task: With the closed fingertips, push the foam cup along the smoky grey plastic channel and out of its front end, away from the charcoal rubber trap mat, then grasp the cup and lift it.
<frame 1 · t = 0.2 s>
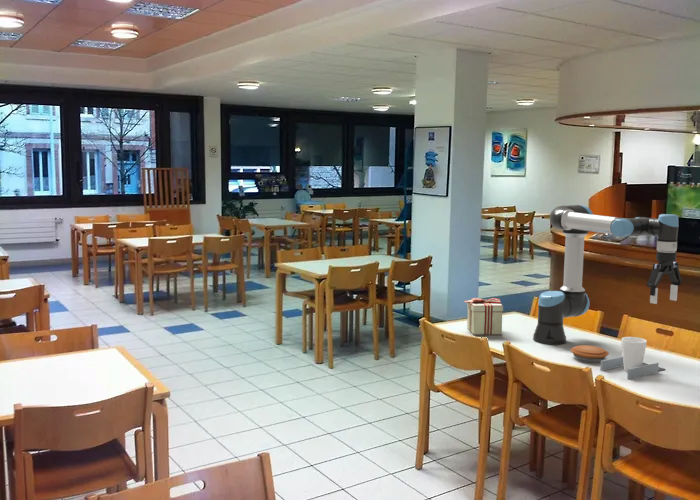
hand: (663, 301, 273), 27 cm above the table, tool pointing down, fingers open, 13 cm apart
foam cup: (632, 371, 267), on the table
pie: (588, 359, 283), on the table
channel: (628, 371, 266), on the table
gift box: (481, 331, 331), on the table
trap mat: (647, 367, 272), on the table
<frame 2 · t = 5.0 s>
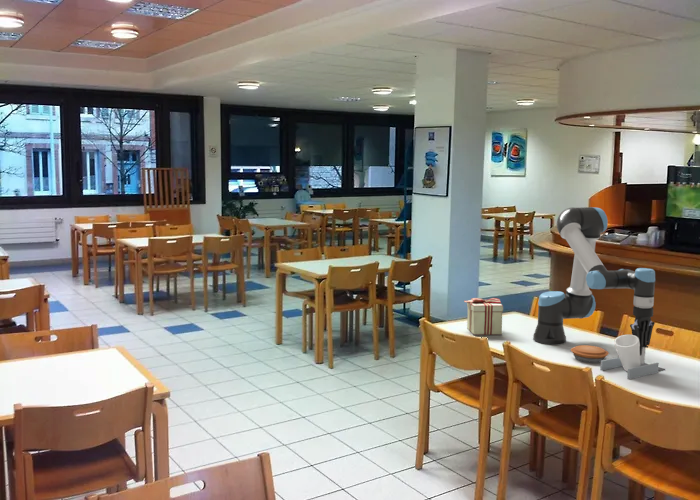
hand: (640, 362, 268), 3 cm above the table, tool pointing down, fingers closed
foam cup: (632, 368, 266), point 1 cm above the table, touching gripper, hand
everything else where it was.
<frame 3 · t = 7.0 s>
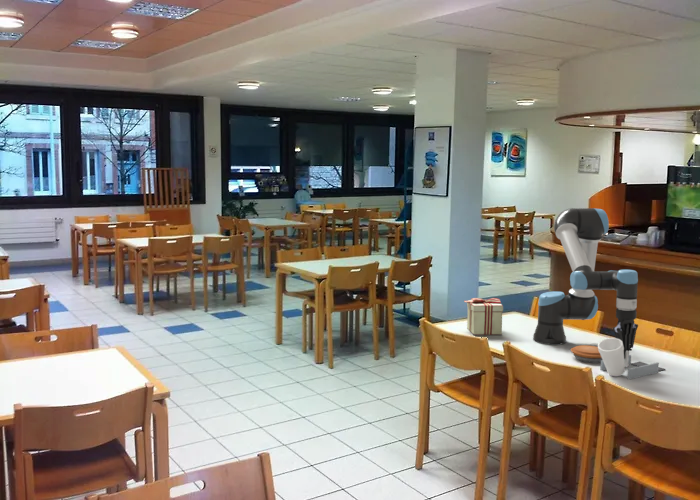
hand: (624, 366, 263), 3 cm above the table, tool pointing down, fingers closed
foam cup: (616, 371, 261), point 1 cm above the table, touching gripper, hand
everything else where it was.
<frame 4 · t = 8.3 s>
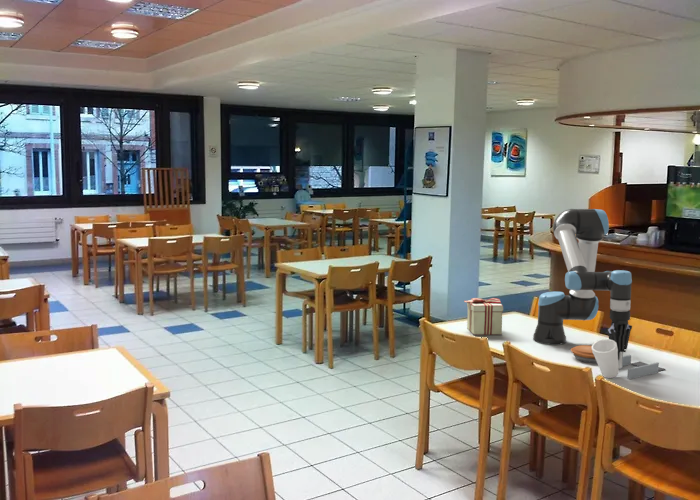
hand: (618, 367, 261), 3 cm above the table, tool pointing down, fingers closed
foam cup: (610, 373, 259), point 1 cm above the table, touching gripper, hand
everything else where it was.
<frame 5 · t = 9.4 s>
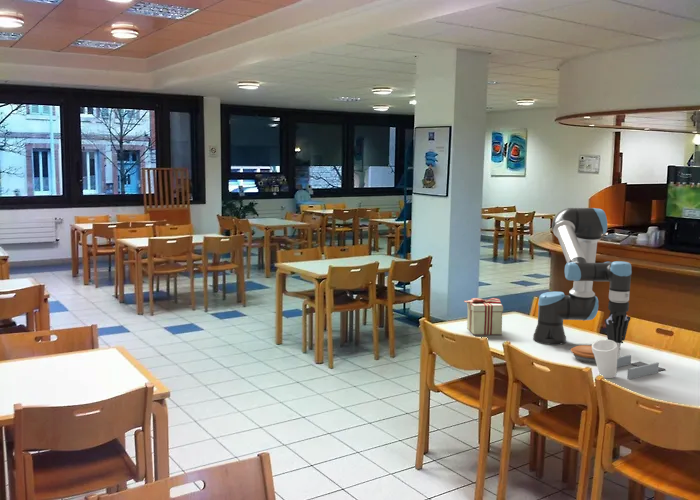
hand: (615, 358, 261), 7 cm above the table, tool pointing down, fingers closed
foam cup: (607, 374, 259), point 1 cm above the table
everything else where it was.
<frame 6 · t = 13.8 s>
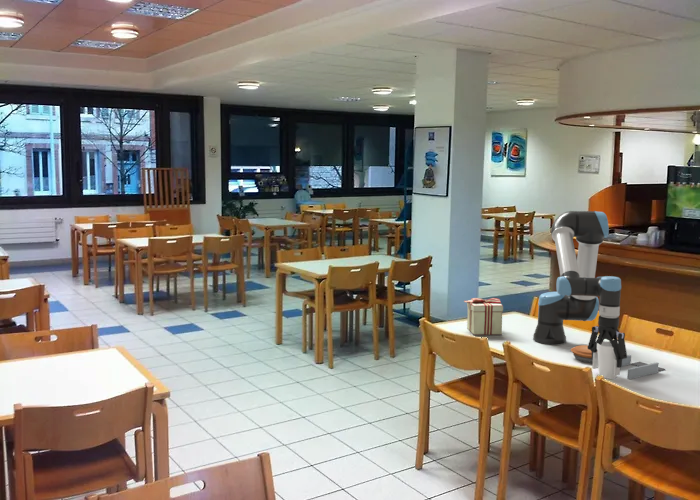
hand: (605, 371, 258), 2 cm above the table, tool pointing down, fingers closed on foam cup, 9 cm apart
foam cup: (607, 376, 259), on the table, touching gripper
everything else where it was.
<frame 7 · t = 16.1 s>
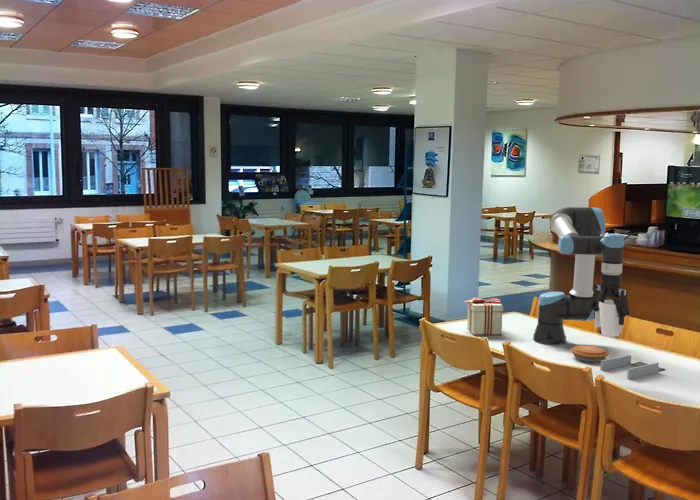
hand: (607, 329, 256), 19 cm above the table, tool pointing down, fingers closed on foam cup, 9 cm apart
foam cup: (609, 335, 257), point 17 cm above the table, touching gripper
everything else where it was.
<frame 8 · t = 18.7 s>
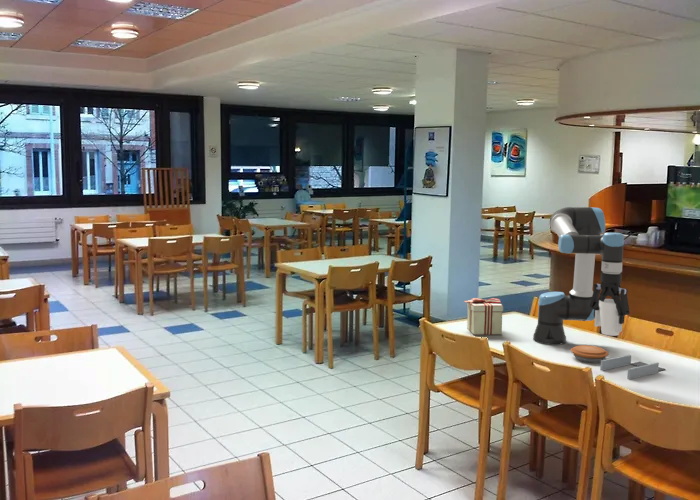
hand: (607, 328, 256), 19 cm above the table, tool pointing down, fingers closed on foam cup, 9 cm apart
foam cup: (610, 334, 257), point 17 cm above the table, touching gripper
everything else where it was.
at the end: foam cup point 17.1 cm above the table; foam cup inside the target area (3.5 cm from its centre), point 17.1 cm above the table; the gripper is holding foam cup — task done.
